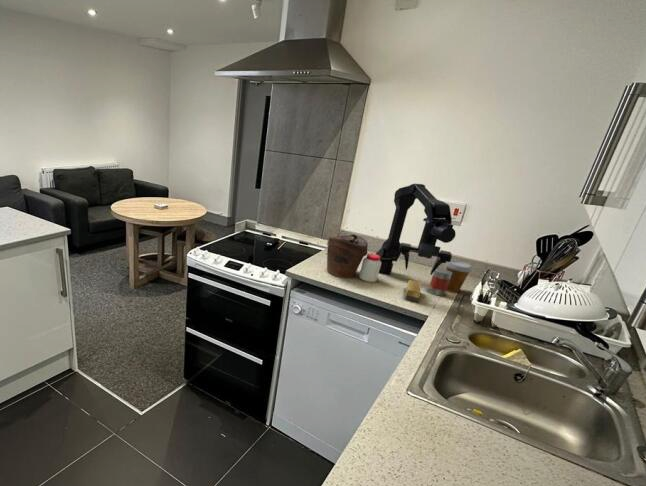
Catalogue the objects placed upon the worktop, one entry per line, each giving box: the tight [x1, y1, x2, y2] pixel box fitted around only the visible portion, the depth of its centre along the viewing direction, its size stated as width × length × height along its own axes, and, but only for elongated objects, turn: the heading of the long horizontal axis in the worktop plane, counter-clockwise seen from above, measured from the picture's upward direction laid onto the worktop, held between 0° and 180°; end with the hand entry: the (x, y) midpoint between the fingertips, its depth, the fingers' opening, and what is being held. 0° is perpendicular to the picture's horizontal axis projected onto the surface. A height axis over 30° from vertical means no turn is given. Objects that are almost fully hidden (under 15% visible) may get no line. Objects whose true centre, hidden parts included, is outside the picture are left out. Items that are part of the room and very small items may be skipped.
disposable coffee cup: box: [445, 260, 472, 293], centre depth 171 cm, size 10×10×12 cm
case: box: [325, 234, 368, 278], centre depth 179 cm, size 18×20×18 cm
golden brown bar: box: [404, 279, 422, 303], centre depth 162 cm, size 4×13×4 cm, turn 153°
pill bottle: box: [358, 253, 381, 283], centre depth 176 cm, size 8×8×11 cm
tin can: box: [427, 267, 452, 297], centre depth 167 cm, size 7×7×10 cm
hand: (418, 272), depth 160 cm, fingers open, 9 cm apart
